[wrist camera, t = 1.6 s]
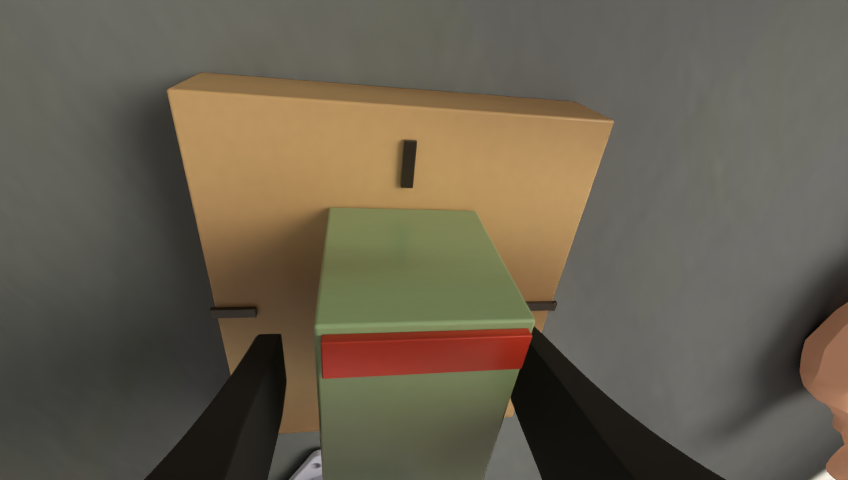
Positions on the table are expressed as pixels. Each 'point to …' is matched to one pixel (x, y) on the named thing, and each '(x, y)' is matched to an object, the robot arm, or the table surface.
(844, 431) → the male figurine
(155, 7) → the table surface
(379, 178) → the tan flat block
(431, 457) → the box
